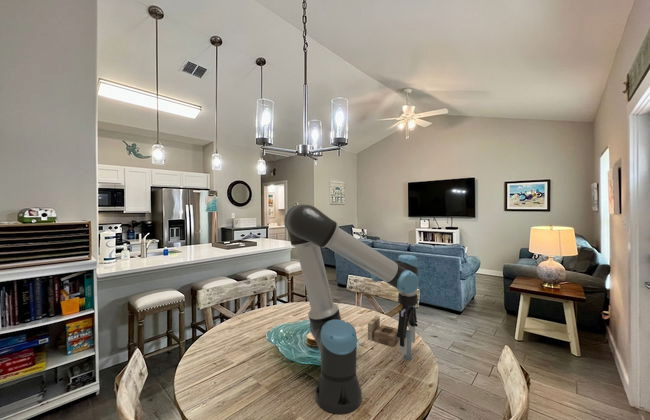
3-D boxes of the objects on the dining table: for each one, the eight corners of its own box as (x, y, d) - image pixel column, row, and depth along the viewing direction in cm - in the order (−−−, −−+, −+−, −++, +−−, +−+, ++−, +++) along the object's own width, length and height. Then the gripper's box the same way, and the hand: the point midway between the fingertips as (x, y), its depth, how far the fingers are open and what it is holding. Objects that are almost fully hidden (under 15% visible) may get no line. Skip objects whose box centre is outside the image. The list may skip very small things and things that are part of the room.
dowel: (409, 363, 110) (410, 333, 110) (402, 361, 112) (402, 331, 112) (412, 360, 113) (412, 331, 113) (404, 357, 115) (405, 329, 114)
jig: (401, 352, 119) (401, 332, 119) (367, 341, 128) (367, 323, 128) (408, 343, 126) (408, 324, 126) (375, 334, 135) (375, 316, 135)
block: (393, 347, 121) (393, 337, 121) (374, 341, 126) (374, 331, 126) (400, 339, 128) (400, 329, 128) (381, 333, 134) (381, 324, 133)
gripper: (407, 303, 100) (407, 363, 101) (424, 288, 120) (424, 338, 120) (388, 299, 105) (387, 357, 105) (407, 285, 124) (407, 333, 124)
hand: (407, 347), depth 112 cm, fingers open, 11 cm apart
